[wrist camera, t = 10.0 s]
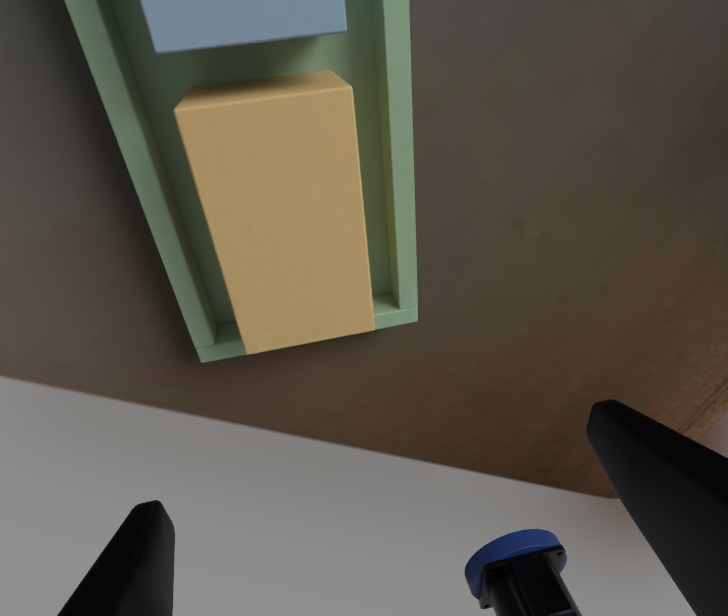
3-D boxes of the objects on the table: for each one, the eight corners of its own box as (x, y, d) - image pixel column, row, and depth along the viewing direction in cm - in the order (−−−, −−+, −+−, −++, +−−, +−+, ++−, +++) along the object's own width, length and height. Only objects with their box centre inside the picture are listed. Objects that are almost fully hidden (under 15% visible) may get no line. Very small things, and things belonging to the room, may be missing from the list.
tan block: (355, 277, 20) (375, 331, 16) (247, 296, 19) (246, 356, 16) (331, 69, 15) (352, 85, 12) (189, 87, 15) (171, 109, 11)
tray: (405, 297, 22) (418, 322, 20) (205, 334, 20) (200, 364, 19) (369, -496, 10) (392, -601, 8) (-91, -505, 9) (-173, -626, 7)
